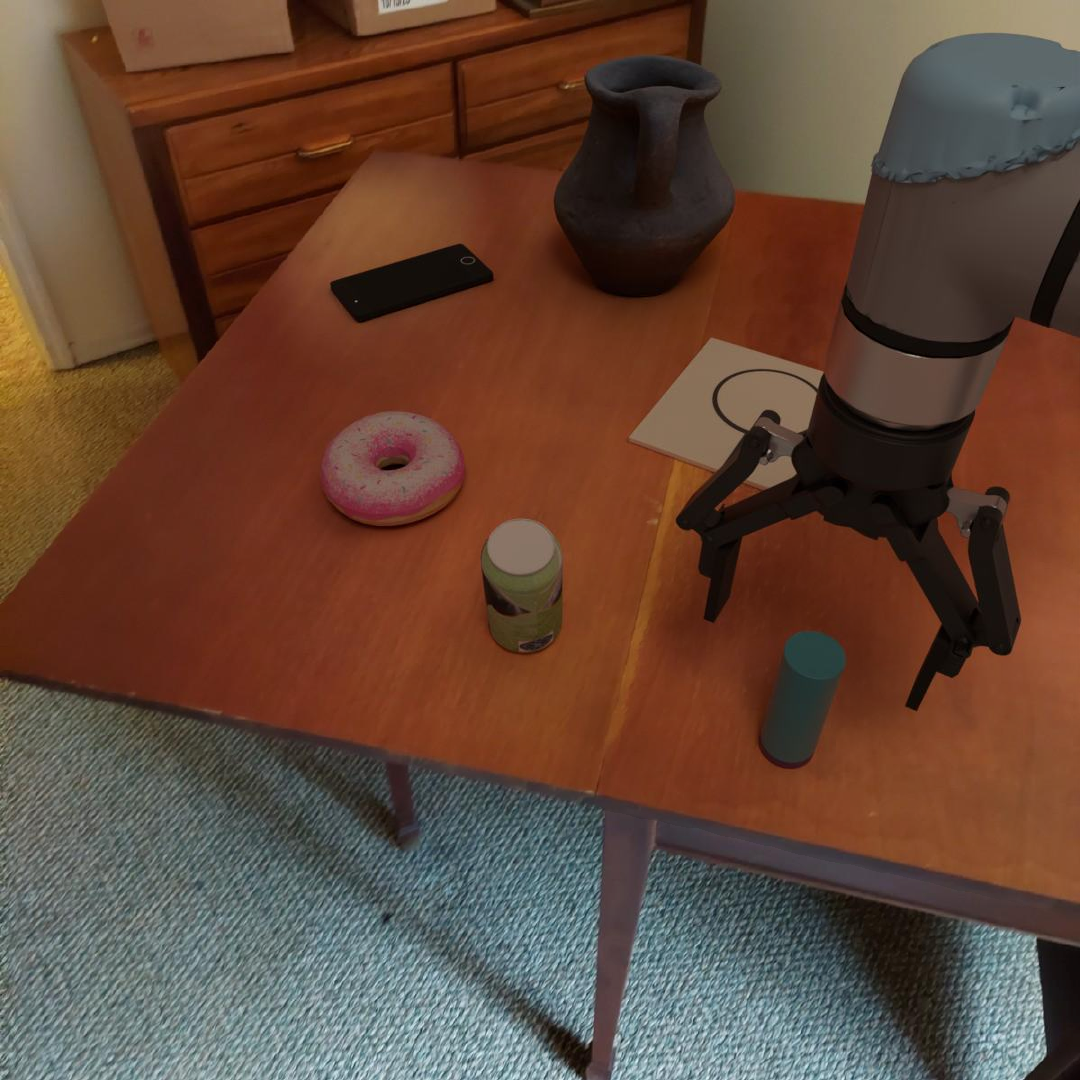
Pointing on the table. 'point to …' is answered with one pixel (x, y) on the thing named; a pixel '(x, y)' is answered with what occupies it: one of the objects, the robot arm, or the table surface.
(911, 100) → the robot arm
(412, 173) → the table surface
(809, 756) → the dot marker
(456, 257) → the cell phone
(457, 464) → the donut
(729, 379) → the drawing sheet
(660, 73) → the pitcher
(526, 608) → the beverage can
